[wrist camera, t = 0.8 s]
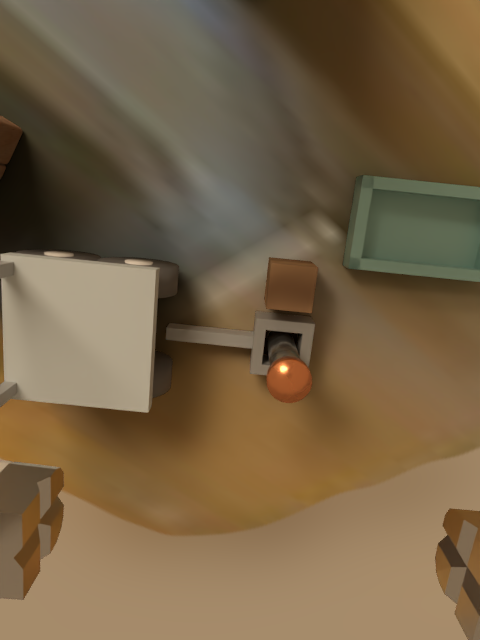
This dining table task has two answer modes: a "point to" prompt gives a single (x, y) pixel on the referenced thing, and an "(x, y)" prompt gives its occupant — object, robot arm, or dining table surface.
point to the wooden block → (7, 141)
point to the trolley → (105, 329)
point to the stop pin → (286, 369)
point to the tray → (414, 228)
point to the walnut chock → (290, 285)
